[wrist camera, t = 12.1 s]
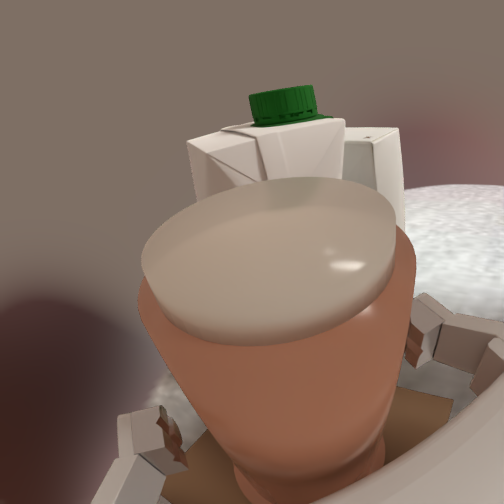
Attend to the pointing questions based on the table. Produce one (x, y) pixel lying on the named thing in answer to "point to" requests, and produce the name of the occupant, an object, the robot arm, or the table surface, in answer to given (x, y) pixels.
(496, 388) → the robot arm
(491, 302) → the table surface
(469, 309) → the table surface
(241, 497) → the block
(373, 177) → the skincare box
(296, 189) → the canister
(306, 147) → the milk carton
